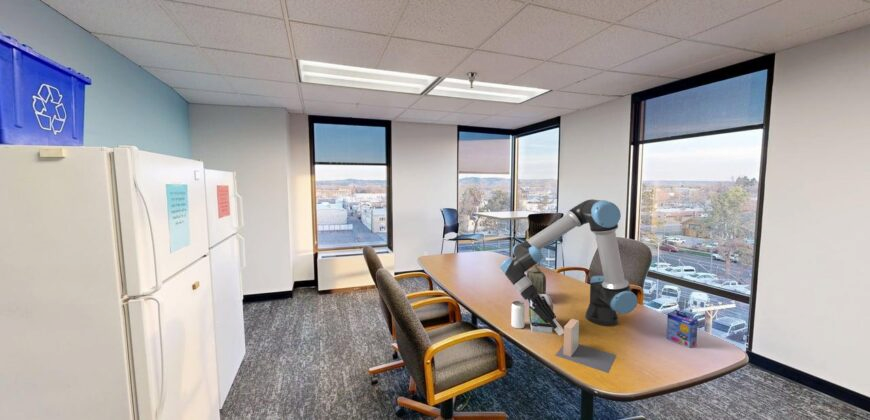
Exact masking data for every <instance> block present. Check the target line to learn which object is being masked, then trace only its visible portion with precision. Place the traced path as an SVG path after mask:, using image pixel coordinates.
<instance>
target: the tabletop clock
mask: <svg viewBox="0 0 870 420" xmlns="http://www.w3.org/2000/svg"><path fill="white" fill-rule="evenodd" d="M526 276H527V277H528V278H529V279H530V281H531V282H532V283H531V284H534V286H535V287H536V288H537V289H538V291H537V293H538V294H547V277H546V274H545V273H544V272H543V271H541V270H540V268H539V267H538V263H537V264H535V265H534V267H532V269H531V270H530V269H528V270H527V271H526Z"/></svg>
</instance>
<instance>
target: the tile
mask: <svg viewBox="0 0 870 420" xmlns="http://www.w3.org/2000/svg"><path fill="white" fill-rule="evenodd" d="M563 329H564V333H563V345H564V348H563V354H564V355H567V356H570V357H571V356H572V355H573V353H574V352H575V351H576V349H577V348H578V344H579V336H580V333H579V332H580V321H579V319H574V318H570V320H568V322H567V323H566V324H565V325H564V326H563Z"/></svg>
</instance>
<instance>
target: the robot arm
mask: <svg viewBox="0 0 870 420" xmlns="http://www.w3.org/2000/svg"><path fill="white" fill-rule="evenodd" d="M621 214H622V213H621V210H620V209H619V206H617V205H616V204H615V203H614V202H611V201H608V200H601V199H600V200H599V199H587V200H584V201H582V202H580V203H579V204H577V205H575V206H574V207H572V208H570V209H569V210H568V211H567V212H566V215H564V216H562V217H561V218H559V219H557V220H556V221H554V222H553V223H551V224H550V225H548V226H547V227H545V228H544V229H542V230H541V231H539V232H537V233H536V234H535V235H533V236H531V237H530V238H528V239H526V240H525V241H523V242H522V243H516V244H515V245H514V246H513V247H512V255H513V256H514V257H515V258H513V257H508V258H506V259H505V260H504V261H503V262H501V264H500V266H499V268H500V269H501V271H502V272H503V274H504V275H505V276H506V277H507V279H508V281H510V283H511V284H512V285H513V286H514V287H515V289H516V290H517V291H518V293H520V296H521V297H522V298H523V300H525V301H526V300H528V303H531V305H530V306H529V307H530V308H531V309H532V310H533V311H534V312H535V313H536V314H537V315H538V316H539V317H540V318H541V319H542V320H543V321H544V322H545V323H547V324H548V323H550V324H551V326H552V329H553V330H554V331H555V333H557V334H558V336H562V335H564V327H562V326H561V324H560V323H559V322H558V320H557V319H556V318H557V315H556V314H555V312H554V310H553V311H552V309H551V308H550V306H549V304H548V303H547V301H546V299H545V297H544V296H542V297H540V295H539V294H538V293H537V291H538V289H537V288H536V287H535V286H534V284H531V283H532V282H531V281H530V279H529V278H528V277H527V271H528V270H530V269H531V268H534V267H535V264H537V265H538V263H540V261H542V260H543V259H544V254H543V253H542V252H541V250H542V249H543V248H545V247H546V246H548V245H550V244H551V243H553V242H554V241H556V240H558V239H559V238H561V237H562V236H564V235H566V234H567V233H569V232H570V231H571V230H573V229H575V228H577V227H582V226H583V225H585V224H589V230H590V232H591V233H593V235H594V236H595V240H596V245H597V252H598V257H599V261H600V264H601V265H600V266H601V270H602V275H592V276H591V277H590V282H589V284H590V285H589V287H590V288H589V304H588V307H587V308H586V312H585V318H586V320H587V321H589V322H591V323H593V324H596V325H600V326H606V327H607V326H616V325H618V324H619V317H618V314H621V315H627V314H630V313H631V312H633V311H634V310H635V309H636V307H637V305H638V297H637V295H636V294H635V293H634V292H632V290H631V285H630V281H628V280H627V279H625V274H624V270H623V265H622V264H623V263H622V259H621V254H620V249H619V243H618V239H617V234H616V230H617V229H618V228H619V224H618V223H619V221H620V220H621Z"/></svg>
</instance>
